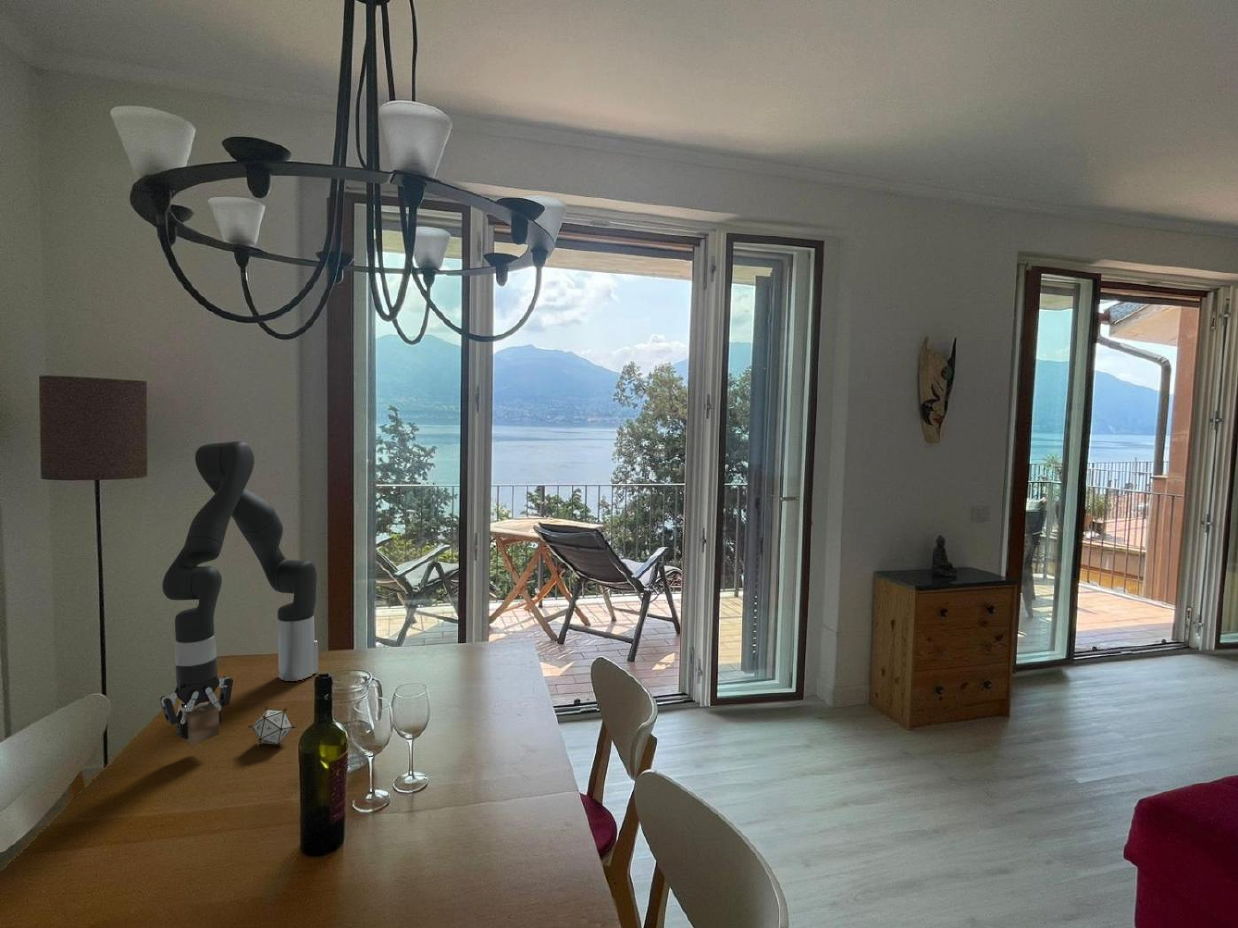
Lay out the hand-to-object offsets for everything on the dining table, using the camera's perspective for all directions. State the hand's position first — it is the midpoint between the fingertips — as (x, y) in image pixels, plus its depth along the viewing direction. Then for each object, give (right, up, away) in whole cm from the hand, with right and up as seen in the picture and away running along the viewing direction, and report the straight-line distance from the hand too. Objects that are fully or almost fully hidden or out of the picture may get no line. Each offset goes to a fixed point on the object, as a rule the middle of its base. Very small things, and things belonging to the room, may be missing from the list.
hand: (199, 732), depth 143 cm
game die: (+13, -5, +6) cm, 15 cm away
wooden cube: (0, -1, 0) cm, 1 cm away
